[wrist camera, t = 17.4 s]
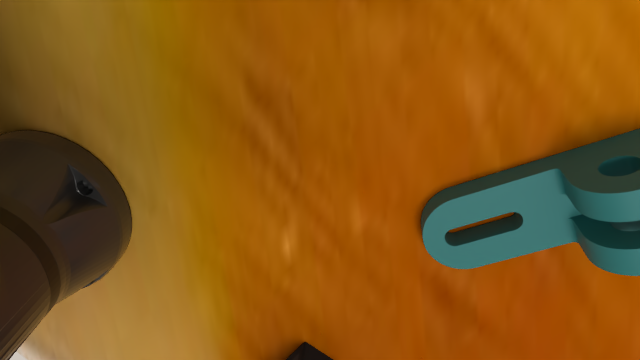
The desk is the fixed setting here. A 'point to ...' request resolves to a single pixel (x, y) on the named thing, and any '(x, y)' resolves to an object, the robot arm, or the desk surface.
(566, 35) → the desk surface
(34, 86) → the desk surface
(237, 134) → the desk surface
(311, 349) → the digital camera
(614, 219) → the bracket
